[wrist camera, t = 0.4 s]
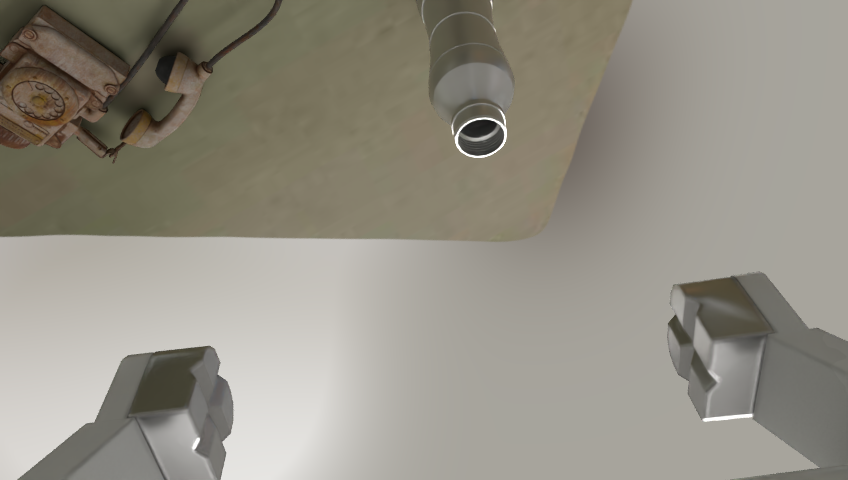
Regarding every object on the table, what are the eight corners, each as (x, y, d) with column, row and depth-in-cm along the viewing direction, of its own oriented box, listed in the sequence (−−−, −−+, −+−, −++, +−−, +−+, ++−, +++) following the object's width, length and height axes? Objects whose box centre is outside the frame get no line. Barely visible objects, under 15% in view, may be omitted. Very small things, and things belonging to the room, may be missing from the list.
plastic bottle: (487, -64, 60) (528, 92, 47) (489, 8, 65) (527, 166, 52) (409, -54, 60) (429, 105, 47) (417, 17, 65) (438, 178, 52)
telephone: (317, -5, 62) (315, 23, 59) (101, 183, 77) (90, 212, 75) (167, -146, 53) (155, -121, 50) (-44, 98, 68) (-62, 128, 66)
